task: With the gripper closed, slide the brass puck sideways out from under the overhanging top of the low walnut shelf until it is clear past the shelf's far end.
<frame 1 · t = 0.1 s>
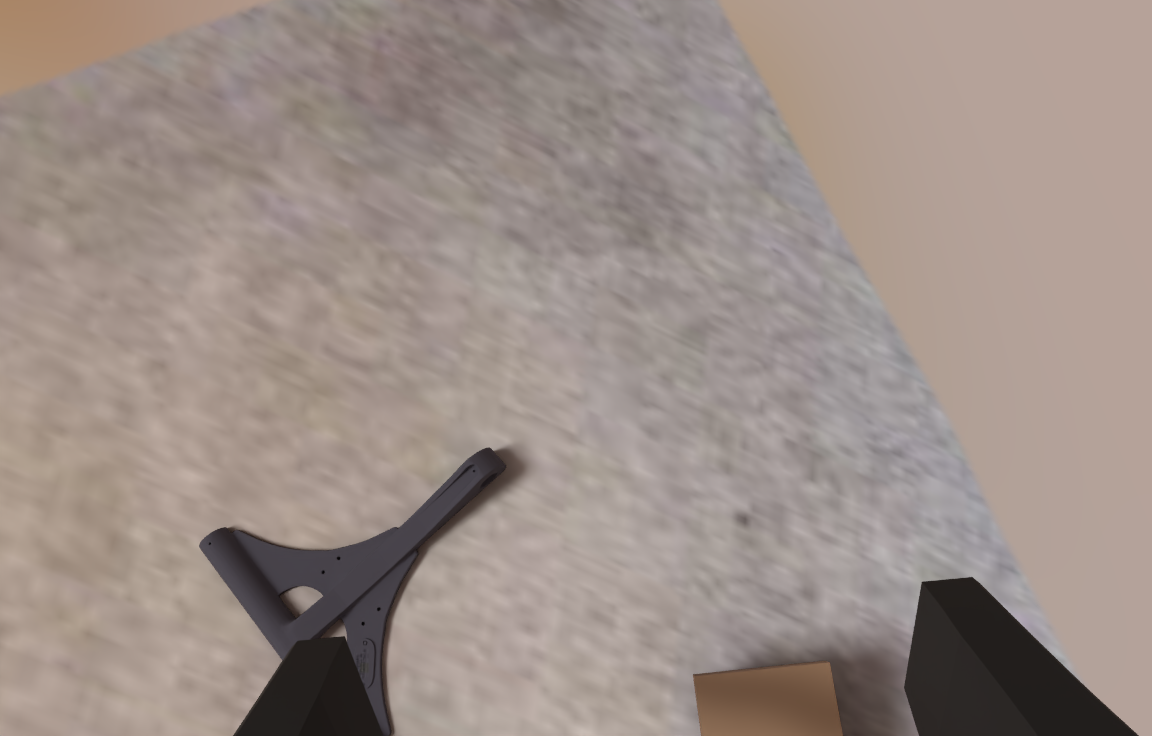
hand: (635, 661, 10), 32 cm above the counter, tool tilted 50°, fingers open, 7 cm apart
bracket: (398, 557, 44), on the counter
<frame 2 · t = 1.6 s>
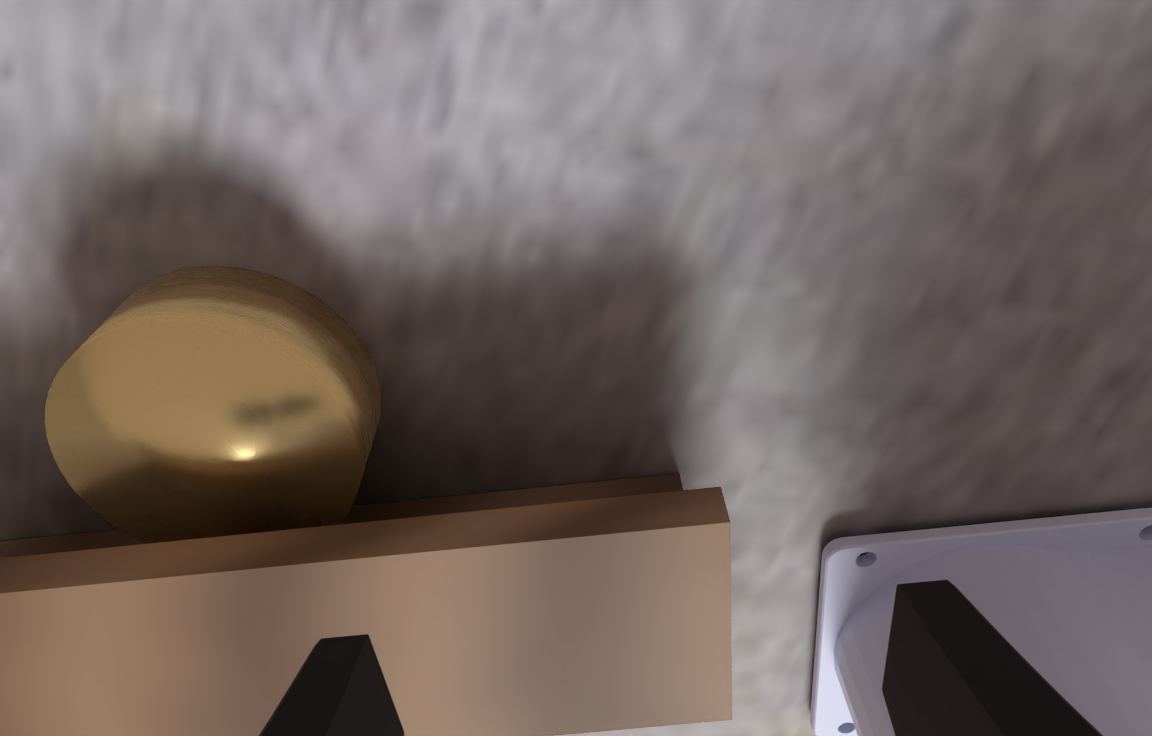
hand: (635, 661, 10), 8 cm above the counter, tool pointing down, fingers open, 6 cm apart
brass puck: (247, 385, 18), on the counter
walnut shelf: (341, 534, 20), on the counter
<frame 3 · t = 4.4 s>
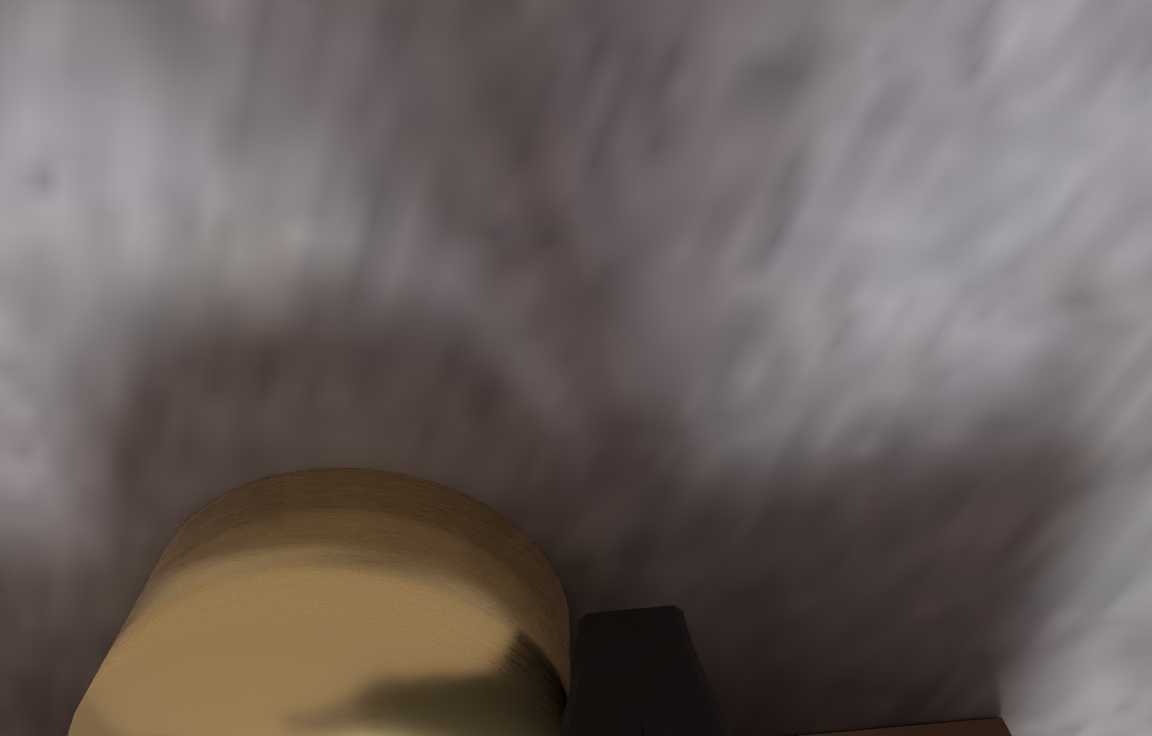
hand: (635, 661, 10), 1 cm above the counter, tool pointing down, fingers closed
brass puck: (367, 624, 12), on the counter, touching gripper
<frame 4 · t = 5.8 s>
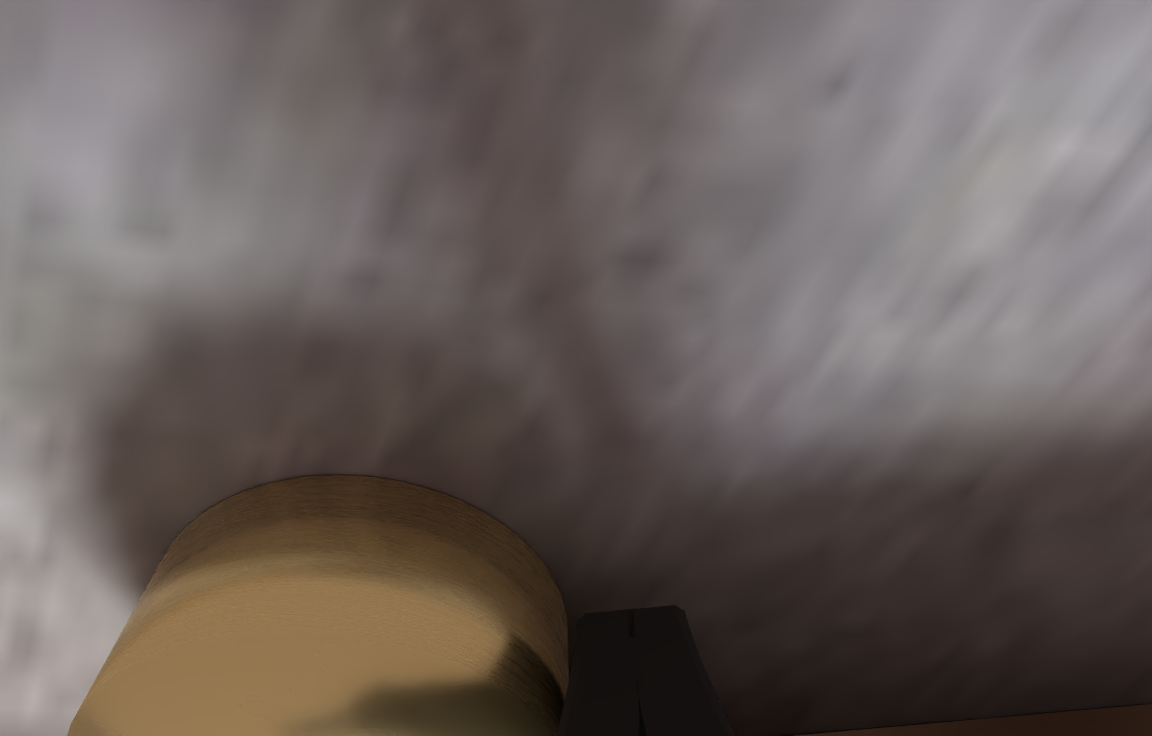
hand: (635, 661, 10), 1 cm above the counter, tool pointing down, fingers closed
brass puck: (365, 632, 12), on the counter, touching gripper
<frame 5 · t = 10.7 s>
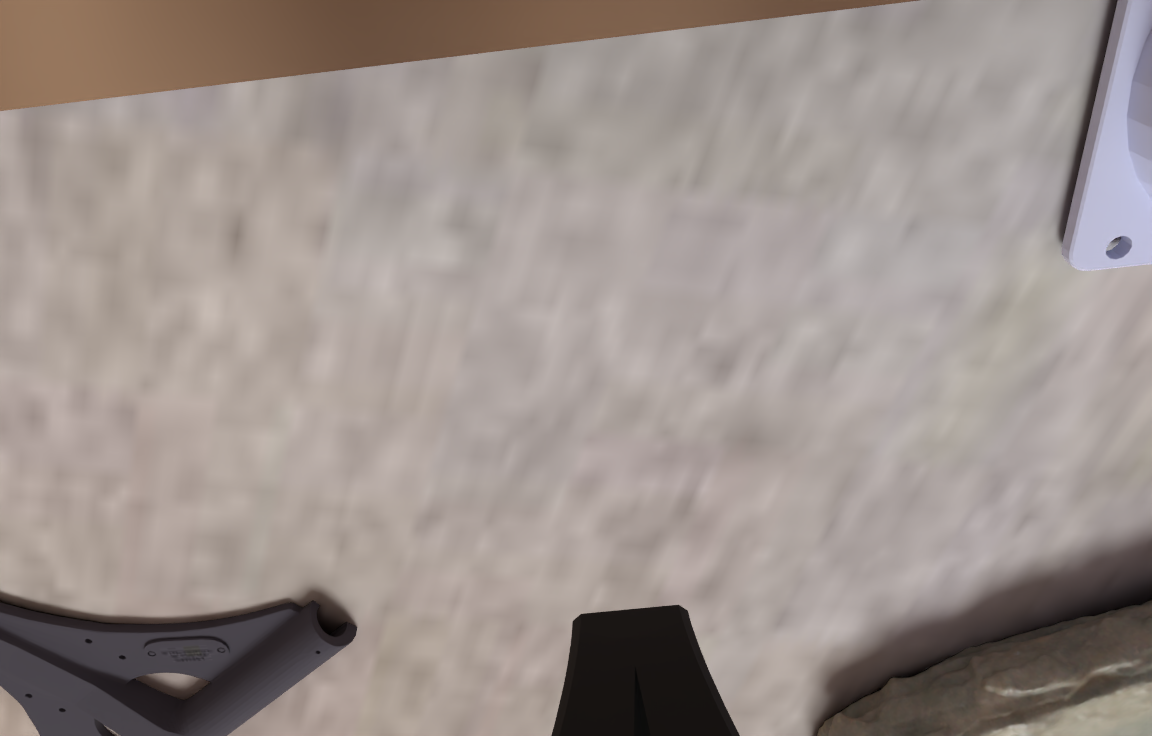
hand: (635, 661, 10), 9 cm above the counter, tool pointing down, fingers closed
bracket: (11, 599, 24), on the counter
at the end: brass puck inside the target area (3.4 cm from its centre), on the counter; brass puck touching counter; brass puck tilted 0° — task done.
